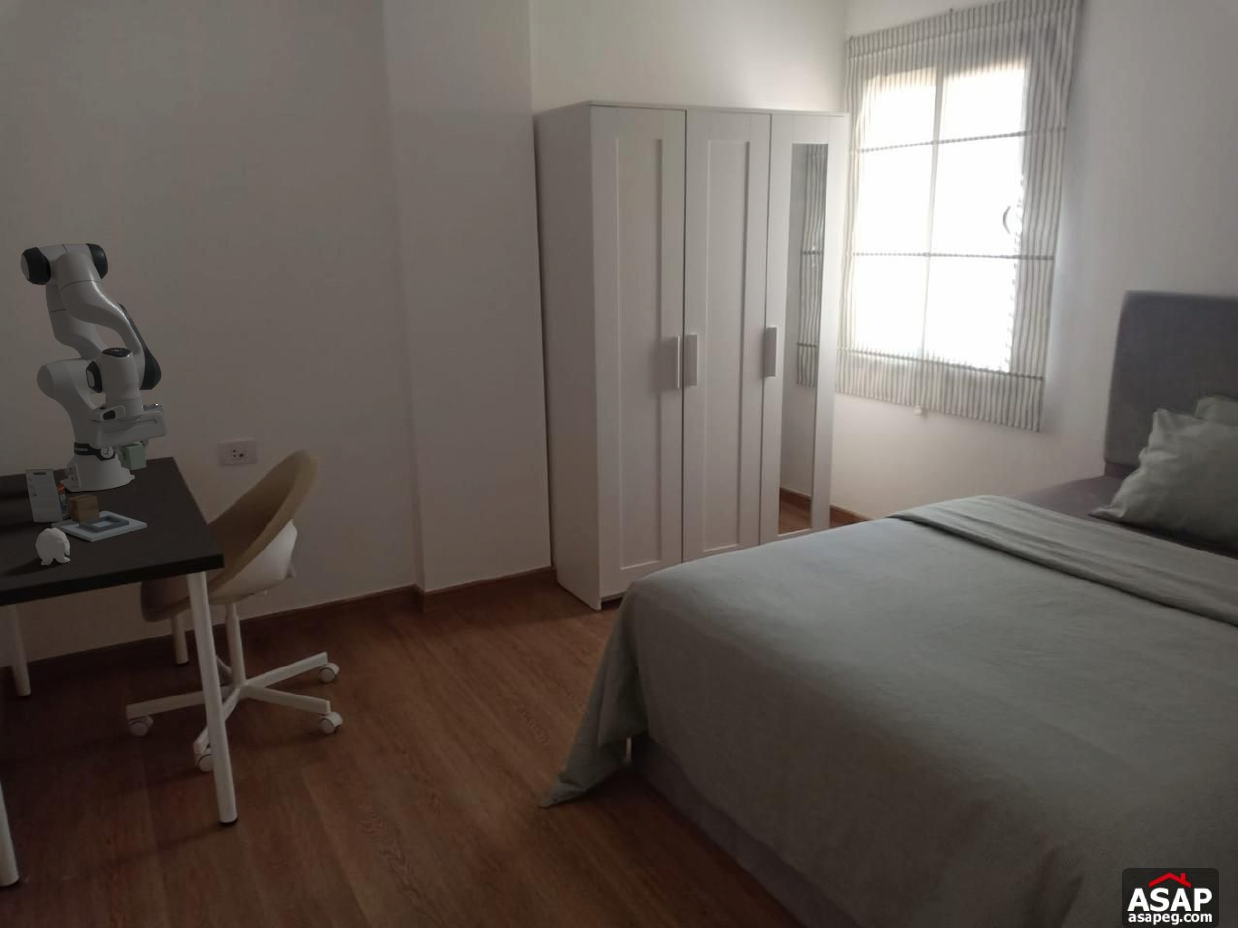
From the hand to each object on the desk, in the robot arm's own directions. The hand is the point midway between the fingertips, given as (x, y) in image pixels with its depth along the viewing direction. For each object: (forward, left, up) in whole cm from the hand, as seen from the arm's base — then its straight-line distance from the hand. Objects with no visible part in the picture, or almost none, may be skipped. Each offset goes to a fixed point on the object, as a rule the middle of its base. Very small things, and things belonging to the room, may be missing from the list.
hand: (132, 458), depth 264 cm
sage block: (0, 0, -3) cm, 2 cm away
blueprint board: (+8, -15, -14) cm, 22 cm away
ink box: (-10, -19, -15) cm, 26 cm away
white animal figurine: (+26, -33, -15) cm, 45 cm away
